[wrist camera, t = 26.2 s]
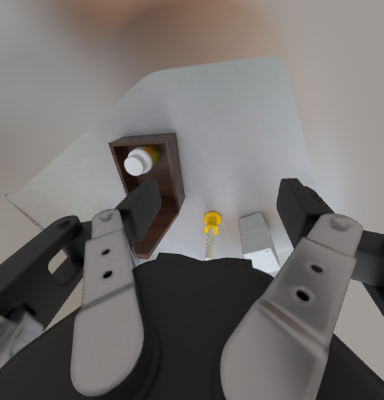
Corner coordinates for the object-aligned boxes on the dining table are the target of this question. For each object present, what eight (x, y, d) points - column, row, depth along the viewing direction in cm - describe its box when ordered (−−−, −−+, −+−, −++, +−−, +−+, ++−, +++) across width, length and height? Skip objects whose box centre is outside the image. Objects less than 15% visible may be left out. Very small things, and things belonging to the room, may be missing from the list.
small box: (238, 218, 49) (241, 254, 38) (260, 211, 46) (270, 247, 35) (249, 237, 52) (255, 275, 41) (270, 231, 49) (282, 270, 38)
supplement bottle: (164, 161, 42) (150, 177, 34) (145, 164, 44) (127, 180, 36) (157, 139, 40) (140, 151, 32) (137, 143, 41) (116, 155, 33)
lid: (71, 249, 28) (79, 275, 30) (147, 255, 25) (152, 283, 27) (130, 209, 45) (133, 227, 47) (179, 210, 42) (180, 229, 44)
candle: (224, 221, 50) (224, 265, 37) (210, 227, 52) (205, 271, 39) (215, 208, 48) (211, 251, 35) (200, 216, 51) (191, 258, 38)
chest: (123, 136, 42) (108, 143, 36) (175, 133, 39) (167, 139, 34) (141, 197, 51) (131, 209, 46) (184, 197, 48) (179, 210, 43)
